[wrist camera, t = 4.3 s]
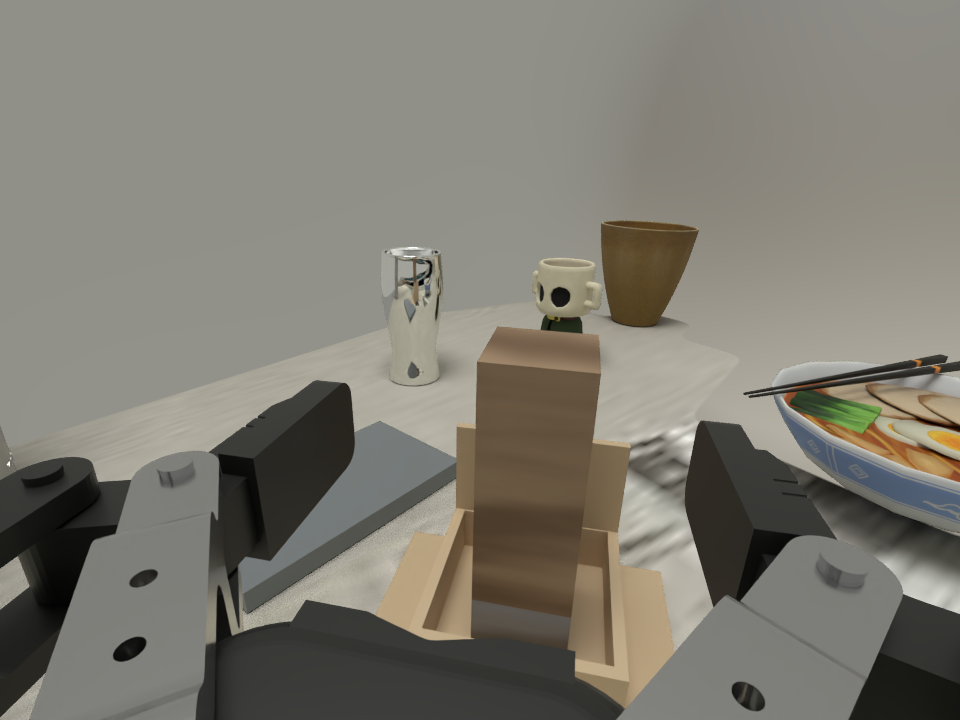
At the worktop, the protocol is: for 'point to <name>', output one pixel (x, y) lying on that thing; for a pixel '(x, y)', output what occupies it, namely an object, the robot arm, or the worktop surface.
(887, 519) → the worktop surface
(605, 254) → the plant pot
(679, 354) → the worktop surface
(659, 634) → the carton
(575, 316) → the character mug
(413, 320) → the beer glass
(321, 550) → the blue-grey flat slab
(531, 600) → the walnut block
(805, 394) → the ramen bowl
